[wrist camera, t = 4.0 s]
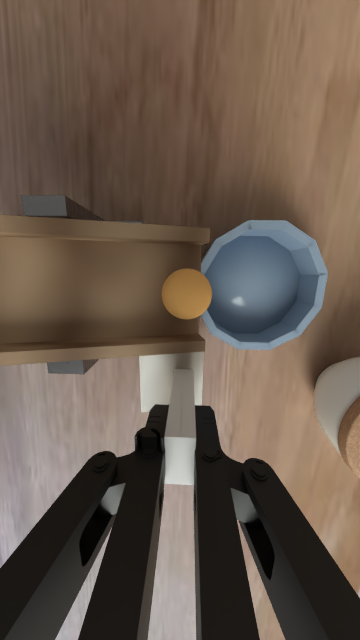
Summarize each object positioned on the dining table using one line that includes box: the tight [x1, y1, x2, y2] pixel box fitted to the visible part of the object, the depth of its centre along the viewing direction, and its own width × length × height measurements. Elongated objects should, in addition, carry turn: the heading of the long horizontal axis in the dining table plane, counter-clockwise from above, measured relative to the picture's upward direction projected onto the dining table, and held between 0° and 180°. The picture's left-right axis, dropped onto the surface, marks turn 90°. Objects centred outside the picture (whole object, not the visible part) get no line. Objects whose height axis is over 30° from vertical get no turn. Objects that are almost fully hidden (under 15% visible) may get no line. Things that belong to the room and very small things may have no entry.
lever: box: [0, 215, 210, 412], centre depth 13 cm, size 18×14×3 cm
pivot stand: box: [21, 195, 143, 374], centre depth 16 cm, size 7×12×9 cm, turn 179°
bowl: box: [201, 220, 328, 350], centre depth 19 cm, size 11×11×4 cm
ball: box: [162, 268, 212, 319], centre depth 13 cm, size 3×3×3 cm
